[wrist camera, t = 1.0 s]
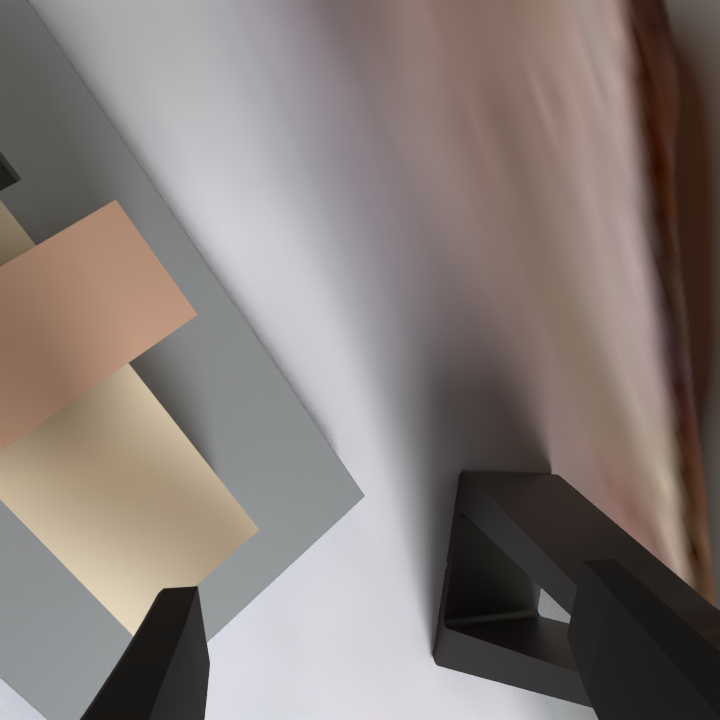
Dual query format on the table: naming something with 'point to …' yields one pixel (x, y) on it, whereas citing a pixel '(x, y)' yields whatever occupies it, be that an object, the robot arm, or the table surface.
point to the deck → (158, 372)
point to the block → (119, 489)
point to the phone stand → (535, 580)
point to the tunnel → (79, 315)
